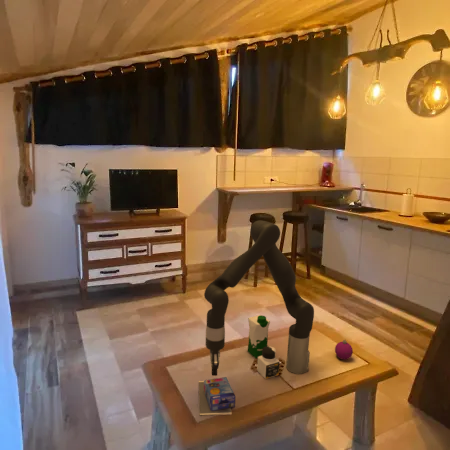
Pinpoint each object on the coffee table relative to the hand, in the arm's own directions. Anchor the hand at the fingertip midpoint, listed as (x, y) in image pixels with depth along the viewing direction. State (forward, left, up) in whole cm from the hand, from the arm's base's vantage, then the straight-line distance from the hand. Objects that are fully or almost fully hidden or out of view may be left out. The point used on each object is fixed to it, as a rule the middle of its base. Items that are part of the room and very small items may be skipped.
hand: (214, 374), depth 148 cm
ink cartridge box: (-1, -3, -6) cm, 6 cm away
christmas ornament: (-64, -23, -9) cm, 69 cm away
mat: (0, +2, -9) cm, 9 cm away
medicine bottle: (-25, -13, -9) cm, 30 cm away
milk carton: (-23, -29, -9) cm, 38 cm away
